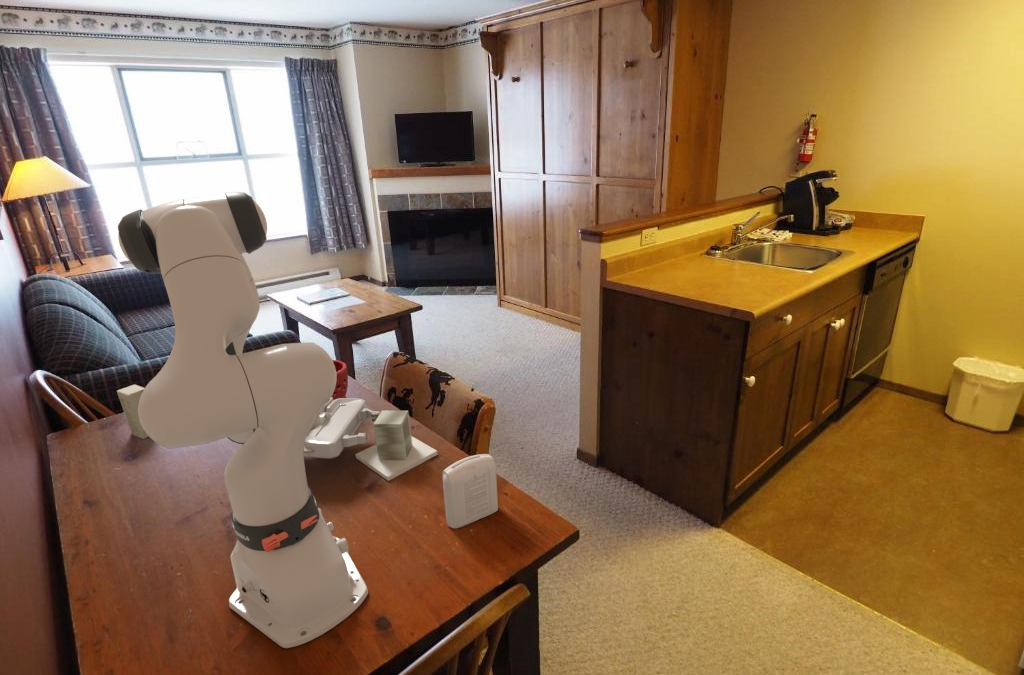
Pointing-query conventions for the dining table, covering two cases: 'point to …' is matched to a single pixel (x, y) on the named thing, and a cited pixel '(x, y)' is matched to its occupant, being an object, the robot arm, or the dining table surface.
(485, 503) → the photo printer
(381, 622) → the dining table surface
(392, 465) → the post stand
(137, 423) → the skincare box
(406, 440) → the sage recessed panel box
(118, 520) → the dining table surface
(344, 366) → the plant pot
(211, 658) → the dining table surface
